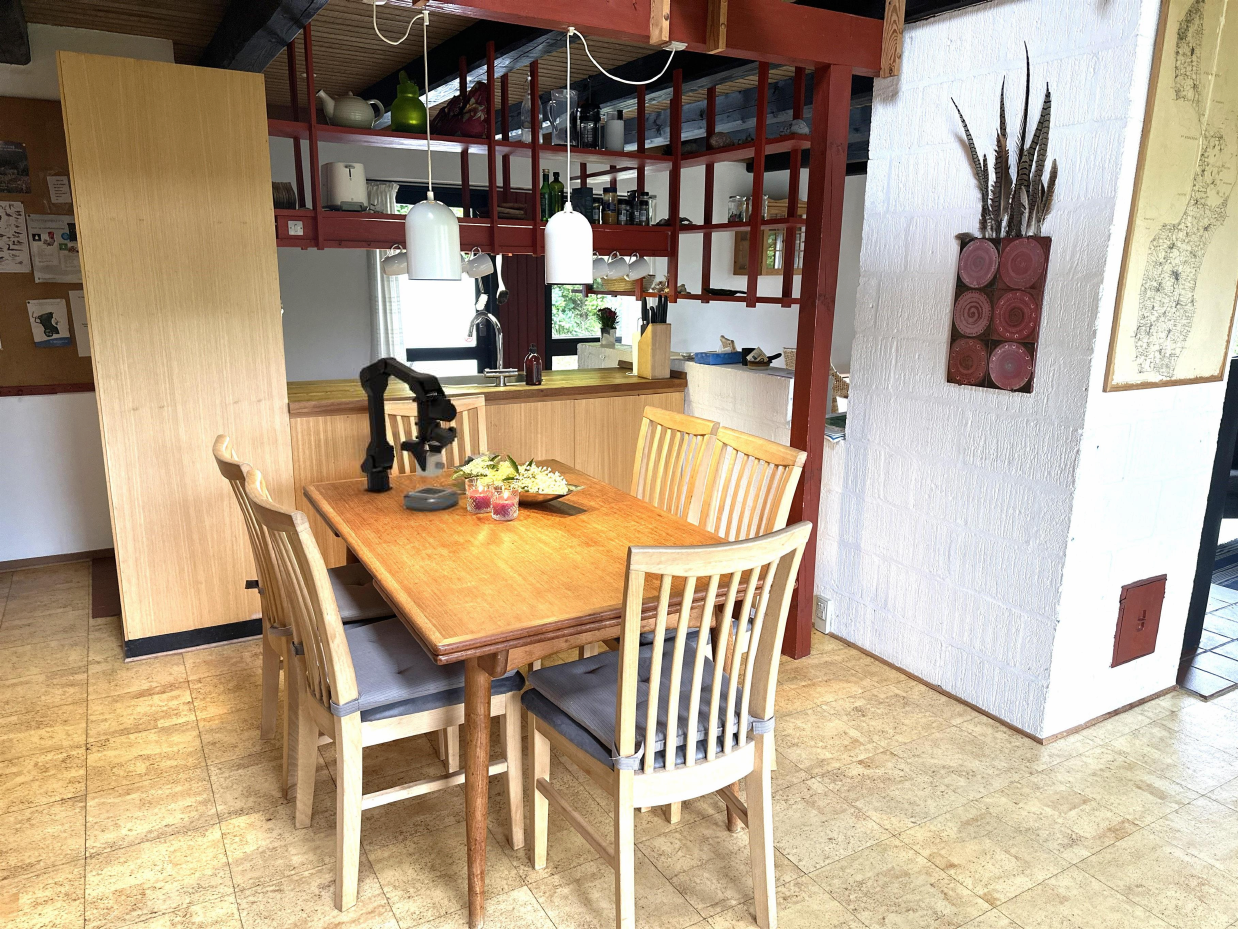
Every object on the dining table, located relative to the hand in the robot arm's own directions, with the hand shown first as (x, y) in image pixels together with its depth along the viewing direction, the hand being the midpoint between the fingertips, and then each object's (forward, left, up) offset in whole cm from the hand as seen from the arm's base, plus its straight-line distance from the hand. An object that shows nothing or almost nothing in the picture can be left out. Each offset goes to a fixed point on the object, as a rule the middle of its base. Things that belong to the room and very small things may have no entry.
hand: (429, 469), depth 254 cm
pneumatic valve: (+4, +22, -11) cm, 25 cm away
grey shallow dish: (0, 0, -11) cm, 11 cm away
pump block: (0, 0, -1) cm, 1 cm away
